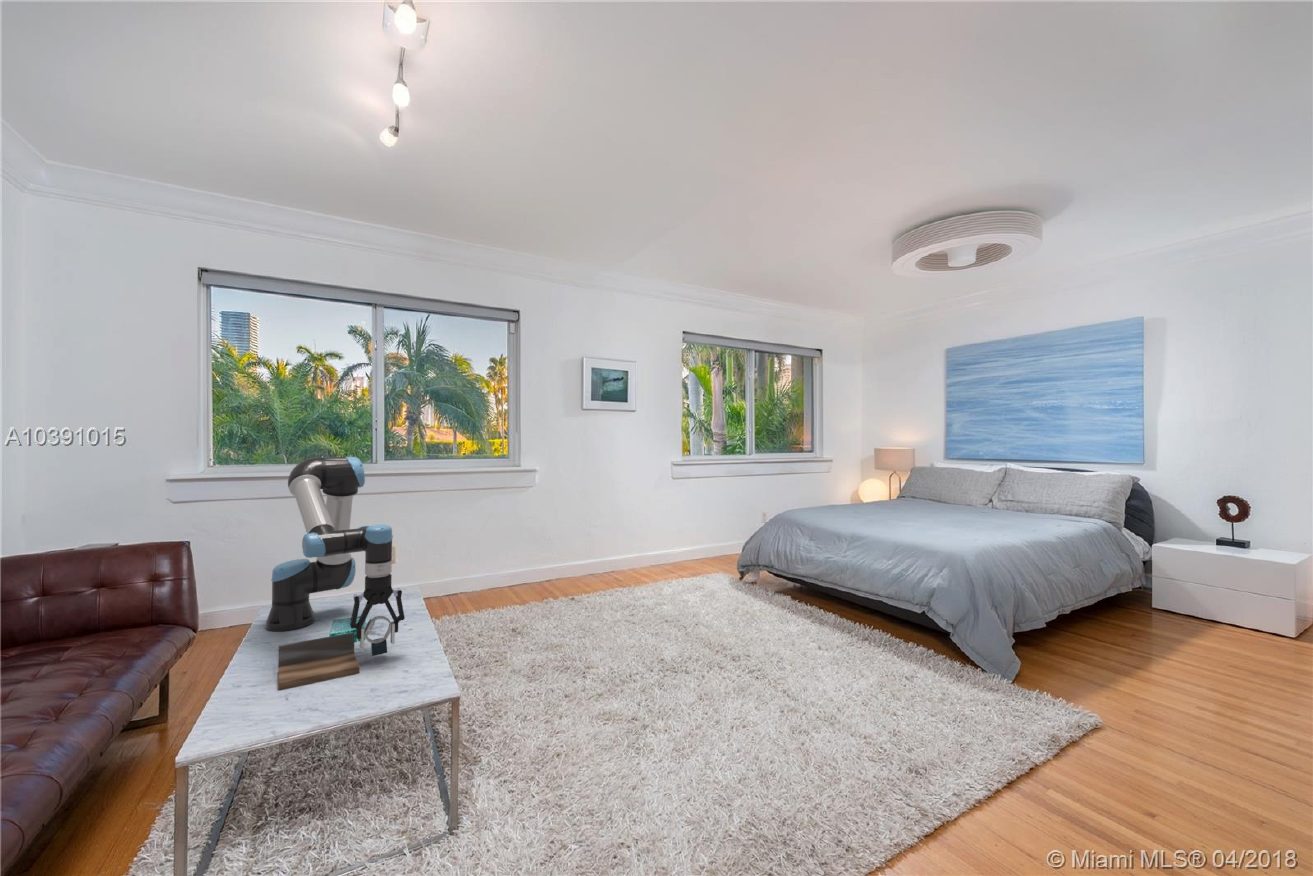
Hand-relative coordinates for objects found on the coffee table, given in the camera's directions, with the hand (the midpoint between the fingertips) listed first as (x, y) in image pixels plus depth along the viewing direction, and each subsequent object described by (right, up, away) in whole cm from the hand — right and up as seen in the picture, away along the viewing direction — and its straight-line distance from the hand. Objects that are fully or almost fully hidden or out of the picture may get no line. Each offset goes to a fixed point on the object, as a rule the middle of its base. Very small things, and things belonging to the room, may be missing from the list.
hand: (377, 645), depth 174 cm
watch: (0, -2, 0) cm, 2 cm away
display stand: (-13, -5, -9) cm, 17 cm away
